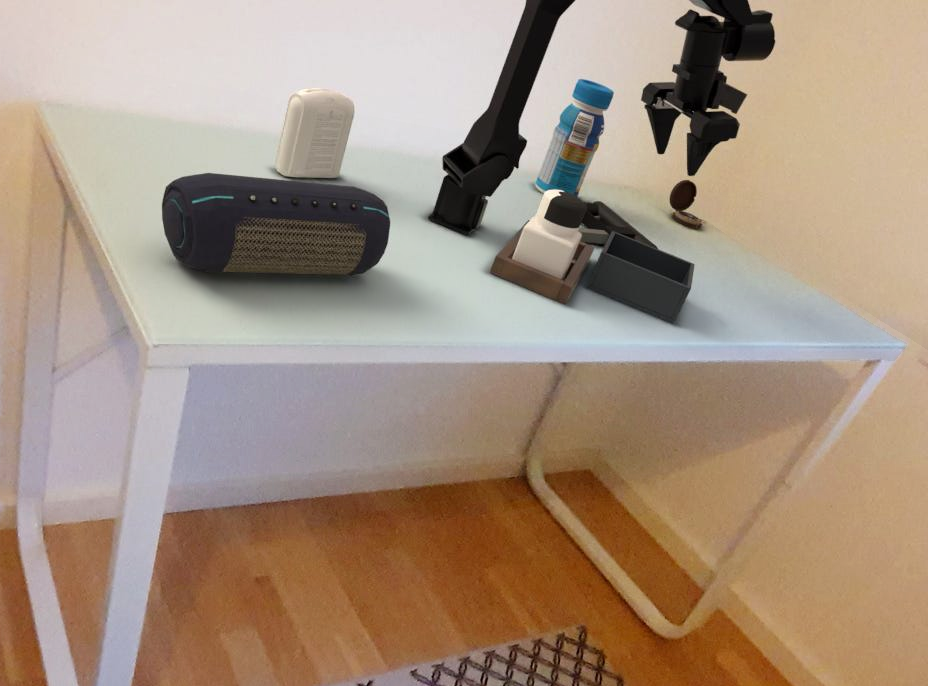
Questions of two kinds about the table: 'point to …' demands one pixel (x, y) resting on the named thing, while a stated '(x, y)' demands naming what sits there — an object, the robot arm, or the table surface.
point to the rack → (539, 279)
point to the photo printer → (315, 134)
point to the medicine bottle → (552, 234)
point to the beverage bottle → (575, 139)
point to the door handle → (606, 225)
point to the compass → (684, 203)
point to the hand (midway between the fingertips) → (675, 164)
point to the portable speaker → (273, 225)
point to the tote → (642, 277)
